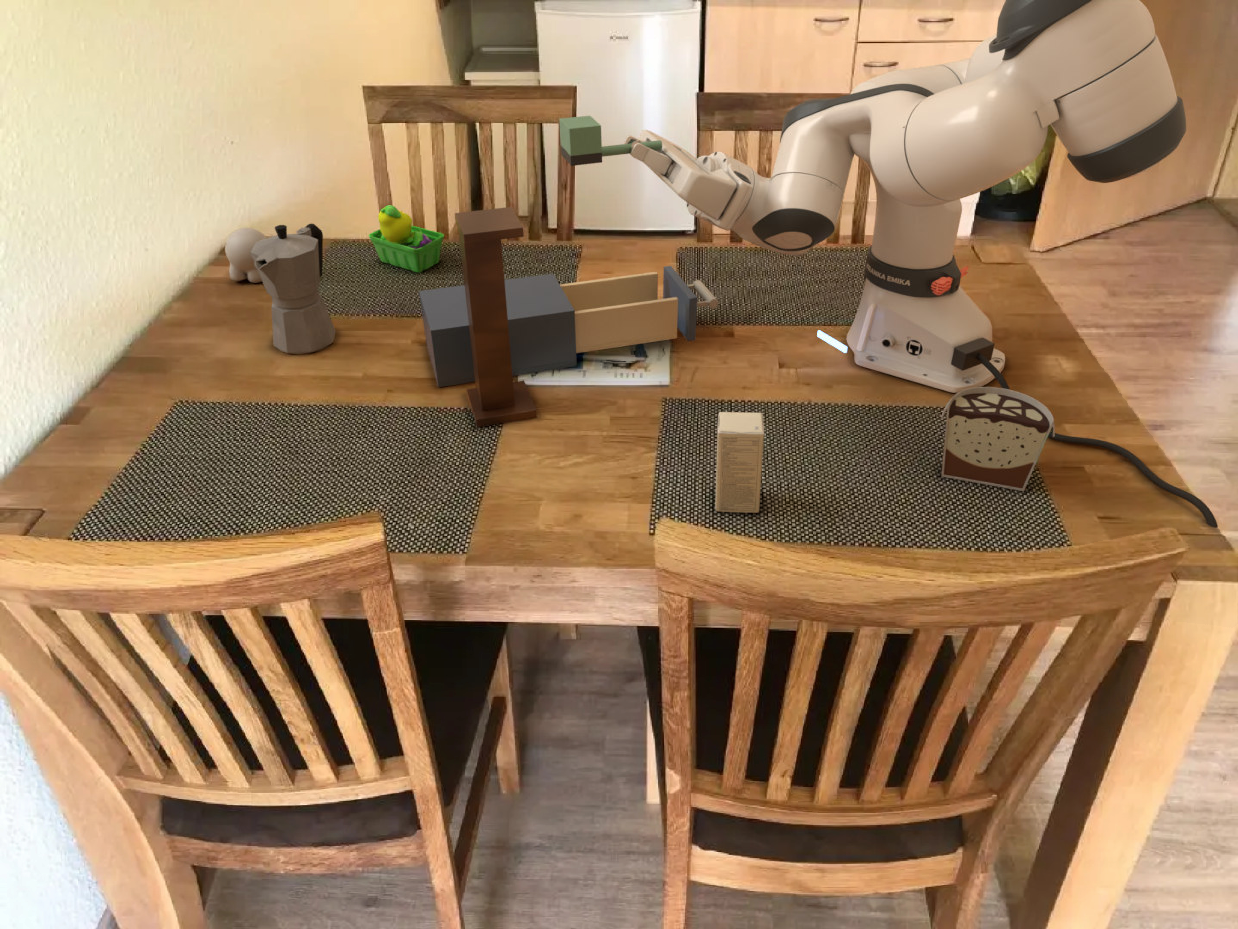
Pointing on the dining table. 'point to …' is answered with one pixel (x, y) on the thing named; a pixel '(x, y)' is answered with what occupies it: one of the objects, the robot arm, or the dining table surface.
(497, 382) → the pedestal
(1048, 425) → the food container
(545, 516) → the dining table surface
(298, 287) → the coffeepot
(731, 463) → the box
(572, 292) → the drawer
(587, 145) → the brush
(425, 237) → the fruit basket
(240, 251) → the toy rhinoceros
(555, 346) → the cabinet
